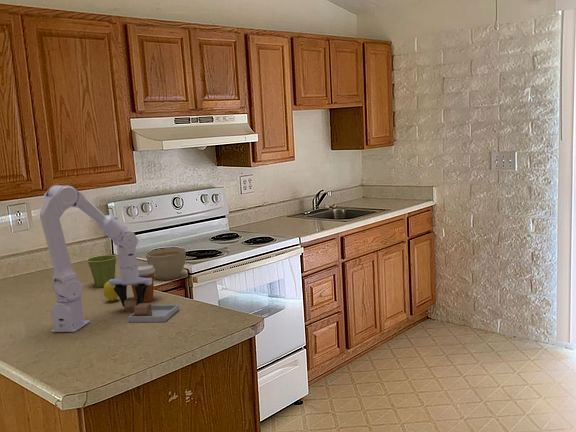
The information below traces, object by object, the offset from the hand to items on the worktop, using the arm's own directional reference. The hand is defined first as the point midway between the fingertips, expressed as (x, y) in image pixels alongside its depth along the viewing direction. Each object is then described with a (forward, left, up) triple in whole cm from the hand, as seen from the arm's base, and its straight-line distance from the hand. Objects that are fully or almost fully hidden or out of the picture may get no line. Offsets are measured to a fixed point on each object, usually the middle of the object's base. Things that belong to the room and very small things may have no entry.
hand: (133, 306), depth 192 cm
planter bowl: (+44, +5, -2) cm, 44 cm away
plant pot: (+34, +28, -2) cm, 44 cm away
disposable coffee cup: (+11, +1, -2) cm, 11 cm away
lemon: (+11, +13, -2) cm, 17 cm away
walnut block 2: (-9, -8, -1) cm, 12 cm away
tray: (-7, -11, -1) cm, 13 cm away
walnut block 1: (0, 0, -2) cm, 2 cm away
